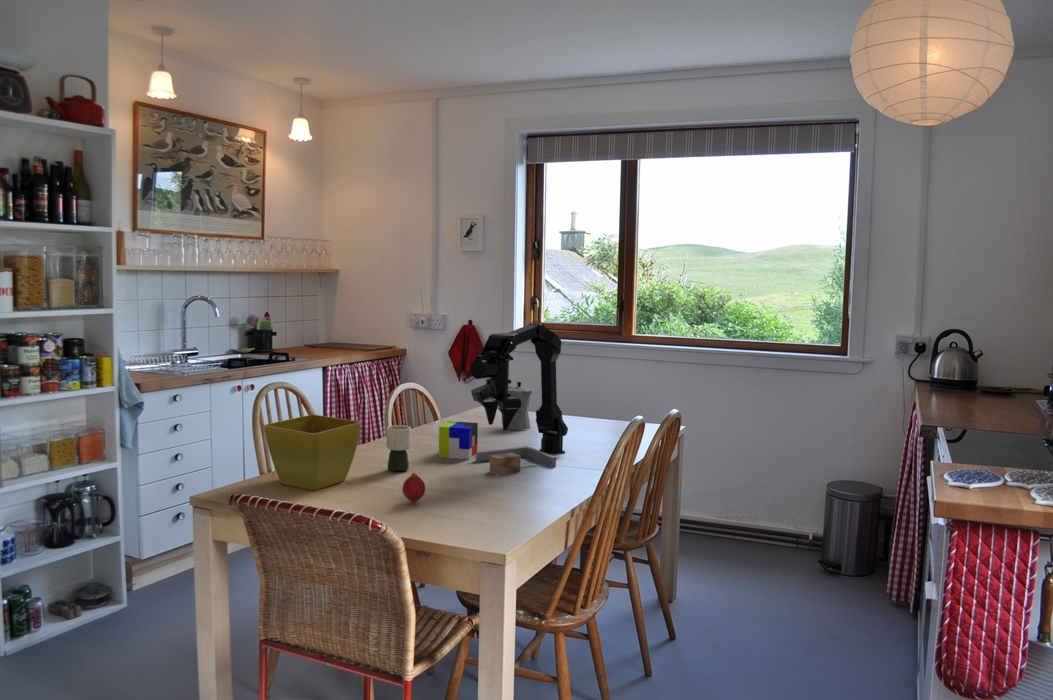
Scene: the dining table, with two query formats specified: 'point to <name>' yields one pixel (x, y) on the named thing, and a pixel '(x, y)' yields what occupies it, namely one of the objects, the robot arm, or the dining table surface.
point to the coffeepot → (521, 416)
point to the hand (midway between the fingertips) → (497, 427)
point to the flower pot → (312, 449)
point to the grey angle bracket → (520, 451)
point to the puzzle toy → (458, 439)
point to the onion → (413, 488)
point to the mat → (526, 464)
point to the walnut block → (505, 463)
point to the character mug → (398, 446)
